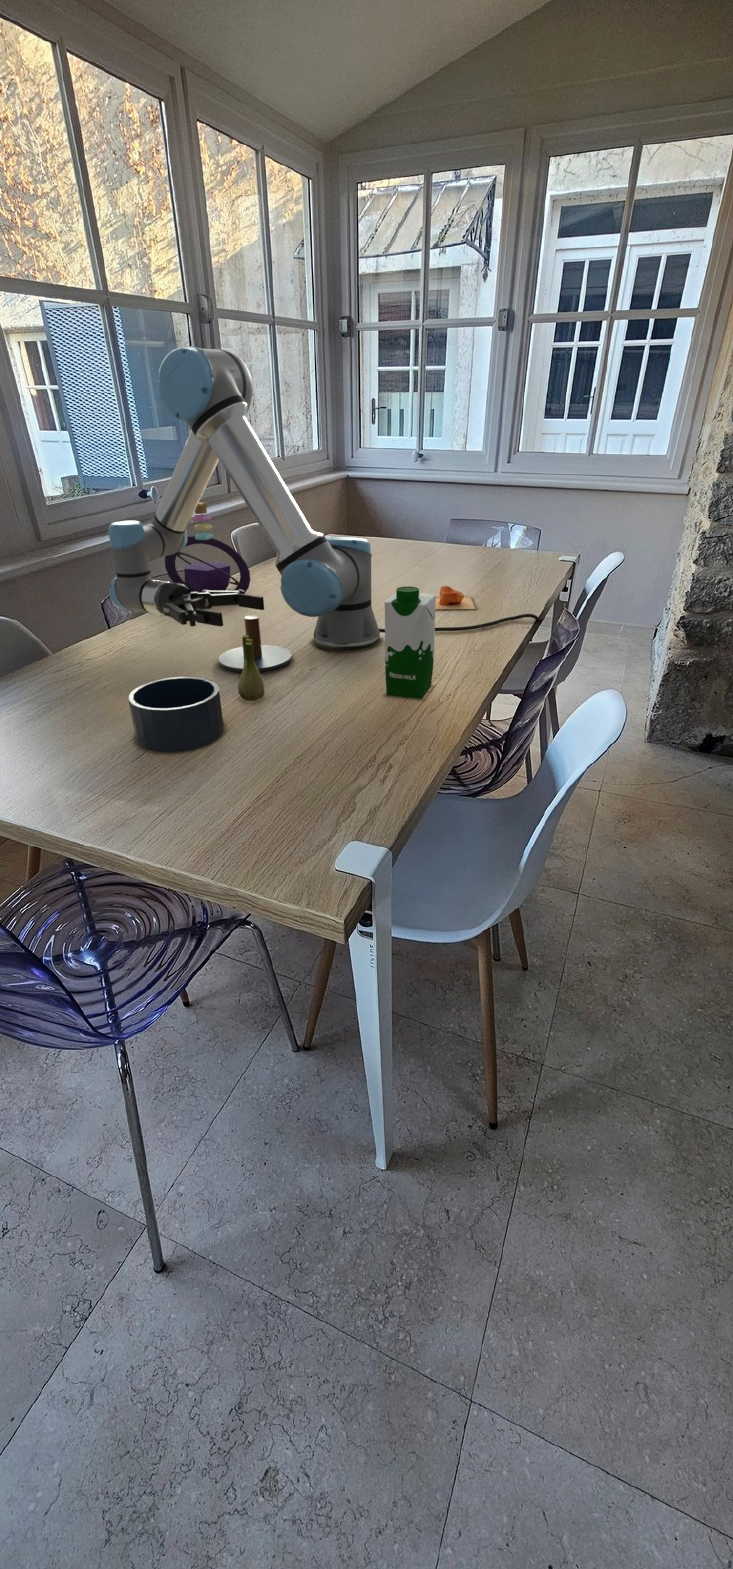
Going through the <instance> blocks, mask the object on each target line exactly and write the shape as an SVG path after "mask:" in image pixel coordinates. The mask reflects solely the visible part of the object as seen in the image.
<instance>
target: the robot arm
mask: <svg viewBox="0 0 733 1569" xmlns="http://www.w3.org/2000/svg"><path fill="white" fill-rule="evenodd" d="M251 375H252V374H251V372H250V370H249V368H248V366H247V365H246V363H245V362H244V361H243V359H242V358H240V356H238V355H237V354H235V353H234V352H232V351H229V350H226V349H222V348H199V347H197V346H194V345H193V346H192V345H190V346H189V345H188V346H185V347H178V348H174V349H173V350H171V351H170V352H168V353H167V355H165V357H164V359H163V360H162V362H161V364H160V366H159V368H158V380H157V390H158V394H159V398H160V401H161V402H162V405H163V406H164V408H165V410H166V411H167V413H169V414H170V415H171V416H173V417H174V418H176V419H177V420H179V421H182V422H186V423H187V425H188V427H189V428H190V433H189V435H188V438H187V440H186V443H185V445H184V447H183V449H182V451H181V454H180V456H179V459H178V461H177V463H176V466H175V468H174V470H173V472H172V475H171V477H170V479H169V481H168V484H167V485H166V488H165V490H164V493H163V495H162V498H161V500H160V502H159V504H158V507H157V509H156V511H155V513H154V516H153V517H152V520H151V522H150V523H149V524H148V525H143V523H142V522H141V521H139V520H121V521H114V522H112V523H110V524H109V525H108V530H107V531H108V538H109V546H110V551H111V554H112V555H111V556H112V560H113V565H114V569H115V575H116V576H115V577H113V579H112V580H111V581H110V583H109V589H108V594H109V598H110V600H111V601H112V603H113V604H114V605H115V606H116V607H118V608H121V609H124V610H127V611H130V612H139V613H147V614H151V615H158V616H159V617H160V618H164V617H168V618H171V619H172V620H174V621H176V622H177V623H179V624H180V625H182V626H185V625H187V624H188V623H189V626H190V627H197V623H198V624H203V625H209V626H215V627H221V628H222V627H224V619H223V613H222V612H221V611H216V610H211V609H212V608H213V607H225V606H238V607H240V608H245V609H251V610H252V609H253V610H259V611H264V610H265V603H264V602H265V601H264V596H261V595H253V594H246V592H245V591H244V590H241V589H239V591H233V590H225V591H212V590H202V593H198V592H190V590H189V589H188V588H187V587H186V586H185V585H183V584H179V583H173V581H165V580H160V579H159V580H158V579H152V570H151V566H150V562H152V561H155V560H158V559H161V558H165V556H168V555H172V554H175V553H177V552H178V551H179V552H181V551H182V550H184V549H185V548H186V547H187V546H186V544H187V541H188V540H187V537H188V531H187V528H188V526H189V524H190V521H191V520H192V518H193V517H194V515H195V514H194V513H195V509H196V507H197V505H198V503H200V501H201V499H202V497H203V495H204V492H205V491H206V489H207V487H208V485H209V482H210V480H211V478H212V476H213V474H214V472H215V470H216V468H217V465H218V464H219V463H221V465H222V467H223V468H224V470H225V472H226V473H227V475H228V477H229V478H230V480H231V482H232V483H233V485H234V486H235V488H236V489H237V491H238V493H239V495H240V497H241V498H242V500H243V501H244V503H245V505H246V506H247V507H248V509H249V511H250V513H251V514H252V516H253V517H254V519H255V521H256V522H257V524H258V526H259V527H260V529H261V531H262V532H263V534H264V536H265V537H266V539H267V540H268V541H269V543H270V545H271V547H272V548H273V550H274V552H275V553H276V558H275V563H274V565H275V567H276V569H277V571H278V572H279V575H280V576H281V578H280V586H279V588H280V592H281V595H282V598H283V600H284V601H285V603H286V604H287V605H288V606H289V608H290V609H292V610H293V611H294V612H295V613H298V614H299V615H302V616H305V617H309V618H317V619H316V624H315V627H314V630H313V642H314V645H316V646H317V647H318V648H321V649H323V650H328V651H335V652H353V651H354V652H355V651H361V650H362V651H363V650H366V649H370V648H372V647H375V646H376V645H378V644H379V643H380V641H381V633H384V634H385V628H379V625H378V622H377V620H376V617H375V614H374V611H373V607H372V557H373V554H372V549H371V543H370V540H368V539H366V538H362V537H351V536H325V534H324V533H322V532H318V531H314V530H313V529H312V526H311V525H310V523H309V522H308V520H307V518H306V517H305V515H304V513H303V512H302V510H301V509H300V507H299V505H298V504H297V502H296V500H295V498H294V496H293V495H292V493H291V492H290V490H289V488H288V486H287V485H286V483H285V482H284V480H283V478H282V477H281V475H280V473H279V471H278V470H277V468H276V466H275V465H274V463H273V461H272V460H271V458H270V456H269V455H268V453H267V451H266V450H265V448H264V446H263V445H262V443H261V441H260V439H259V438H258V436H257V434H256V433H255V431H254V429H253V428H252V426H251V424H250V422H249V421H248V419H247V415H248V412H249V410H250V407H251V404H252V400H253V394H254V386H253V385H254V384H253V379H252V376H251ZM185 546H186V547H185ZM206 604H207V605H206ZM525 618H531V619H534V620H535V621H537V622H540V621H541V618H540V617H539V616H538V615H536V614H535V613H534V614H533V613H523V614H518V615H514V616H507V617H503V618H500V619H496V620H493V621H489V622H484V623H480V624H475V625H468V626H453V627H448V626H447V627H446V626H445V627H435V632H461V631H462V632H463V631H471V630H477V629H481V628H487V627H492V626H495V625H499V624H502V623H504V622H510V621H515V620H519V619H525Z"/></svg>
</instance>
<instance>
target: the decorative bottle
mask: <svg viewBox="0 0 733 1569" xmlns="http://www.w3.org/2000/svg"><path fill="white" fill-rule="evenodd" d="M207 507H208V504H207V502H203V501H202V502H200V501H199V503H198V505H197V507H196V509H195V511H194V513H195V514H193V516H192V518H191V520H192V521H193V522H206V521H211V520H212V519H213V517H212V516H211V515H210V514H208V511H207ZM213 528H214V526H213V525H212V524H209V523H196V524H195V525H194V526H193V527H192V529H193V530H194V531H196V532H197V531H198V533H196V535H187V540H188V541H187V544H186V546H185V547H184V548H186V547H189V546H192V545H207V546H211V547H214V548H218V549H219V550H221V551H223V552H224V553H226V555H227V556H229V557H231V558H232V560H233V562H234V563H236V565H237V568H238V570H239V581H238V579H236V578H235V577H233V576H232V575H231V565H230V564H228V563H226V562H225V561H223V560H214V561H206V560H202V559H200V558H198V557H196V556H193V555H191V554H189V553H186V552H182V551H178V552H177V553H175V554H172V555H168V556H165V557H164V568H165V570H166V573H167V575H168V577H169V579H170V580H171V582H172V583H179V584H183V585H185V586H186V587H187V588H188V589H189V590H190V592H198V593H202V590H212V591H227V588H228V587H229V585H231V584H232V585H235V586H236V587H235V588H234V589H232V591H239V589H241V590H244V591H245V593H247V591H248V590H249V588H250V584H251V571H250V568H249V567H248V564H247V562H246V561H245V559H244V558H243V557H242V555H241V554H240V553H239V552H238V551H237V550H235V549H234V548H233V547H232V546H230V545H228V544H227V543H225V542H223V541H221V540H219V539H217V538H214V537H215V535H214V534H213V533H211V532H210V533H209V532H206V531H208V530H209V531H210V530H213ZM200 531H201V532H200ZM202 531H203V532H202ZM199 532H200V533H199ZM215 554H216V555H217V552H216V553H215ZM182 556H185V557H188V558H191V559H192V562H190V561H189V560H187V559H185V558H184V557H182ZM177 557H178V558H179V559H180V560H182V561H183V562H184V563H187V564H188V566H186V567H184V570H183V571H184V573H183V574H184V580H183V579H182V578H181V576H180V575H179V573H178V570H177V566H176V559H177ZM193 560H196V561H195V562H194V561H193ZM197 561H198V562H197ZM231 580H232V581H231Z"/></svg>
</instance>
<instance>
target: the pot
mask: <svg viewBox="0 0 733 1569" xmlns="http://www.w3.org/2000/svg"><path fill="white" fill-rule="evenodd" d="M127 700H128V706H129V711H130V715H131V716H130V717H131V721H132V726H133V730H134V731H133V732H134V735H135V740H136V743H137V744H138V745H139V746H140V747H142V748H144V749H146V750H148V751H152V752H157V753H166V754H167V753H170V754H173V753H183V752H190V751H194V750H198V749H201V748H204V747H207V746H208V745H210V744H213V743H215V742H216V741H217V740H219V739H220V738H221V737H222V736H223V734H224V732H225V726H224V717H223V709H222V701H221V694H220V686H219V685H218V684H217V683H216V682H214V681H213V680H210V679H207V678H203V677H196V676H175V677H174V676H173V677H165V678H161V679H155V680H152V681H150V682H146V683H144V684H142V685H140V686H138V687H136V688H134V689H133V690H132V691H131V692H130V693H129V694H128V698H127Z"/></svg>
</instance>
